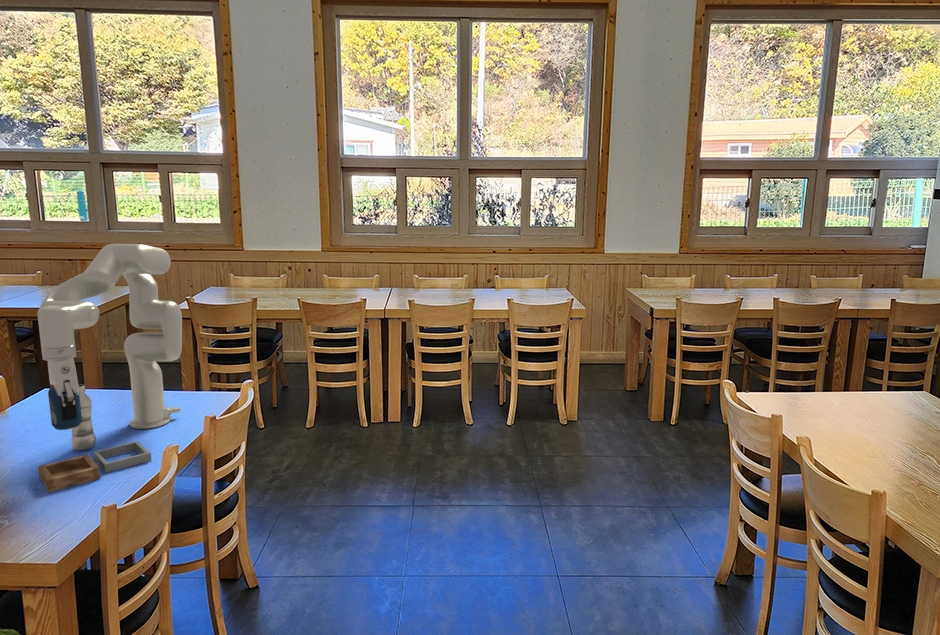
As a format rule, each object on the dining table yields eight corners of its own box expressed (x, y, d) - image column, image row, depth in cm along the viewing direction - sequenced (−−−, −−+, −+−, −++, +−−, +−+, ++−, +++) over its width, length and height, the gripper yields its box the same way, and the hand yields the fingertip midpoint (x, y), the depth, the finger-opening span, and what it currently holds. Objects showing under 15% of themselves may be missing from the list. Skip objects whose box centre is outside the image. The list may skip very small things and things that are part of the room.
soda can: (87, 421, 169) (83, 380, 167) (72, 431, 162) (68, 387, 160) (62, 421, 169) (57, 380, 166) (46, 431, 162) (41, 387, 160)
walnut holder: (89, 464, 176) (87, 454, 175) (100, 478, 168) (99, 467, 167) (39, 477, 168) (37, 466, 167) (48, 492, 159) (47, 480, 159)
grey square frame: (138, 448, 188) (137, 441, 187) (151, 460, 179) (150, 452, 179) (94, 459, 179) (93, 451, 179) (105, 472, 171) (104, 464, 171)
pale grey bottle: (70, 454, 183) (63, 390, 179) (73, 446, 189) (66, 384, 185) (95, 450, 186) (89, 388, 182) (97, 442, 192) (91, 382, 188)
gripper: (84, 355, 158) (90, 420, 161) (67, 344, 170) (74, 405, 173) (49, 360, 153) (57, 427, 156) (35, 348, 165) (42, 410, 168)
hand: (66, 415), depth 165 cm, fingers closed on soda can, 6 cm apart
